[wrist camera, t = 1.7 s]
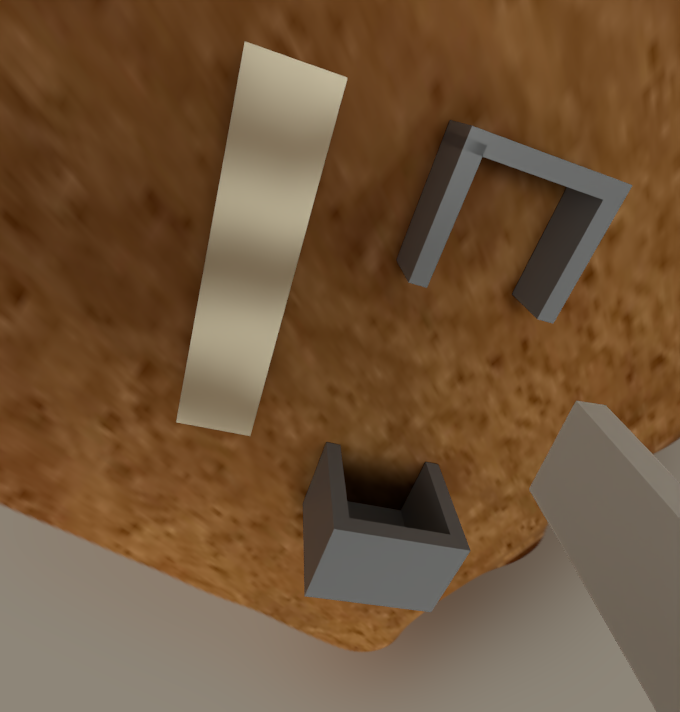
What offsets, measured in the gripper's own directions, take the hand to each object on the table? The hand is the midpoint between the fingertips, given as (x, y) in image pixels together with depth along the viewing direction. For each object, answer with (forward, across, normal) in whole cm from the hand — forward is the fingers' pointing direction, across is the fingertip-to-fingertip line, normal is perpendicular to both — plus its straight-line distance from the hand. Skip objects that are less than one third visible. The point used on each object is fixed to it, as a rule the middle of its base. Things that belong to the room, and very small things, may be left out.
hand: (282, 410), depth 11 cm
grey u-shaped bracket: (+18, +11, +2) cm, 21 cm away
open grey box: (+18, +9, -18) cm, 27 cm away
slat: (+18, -2, -2) cm, 18 cm away
